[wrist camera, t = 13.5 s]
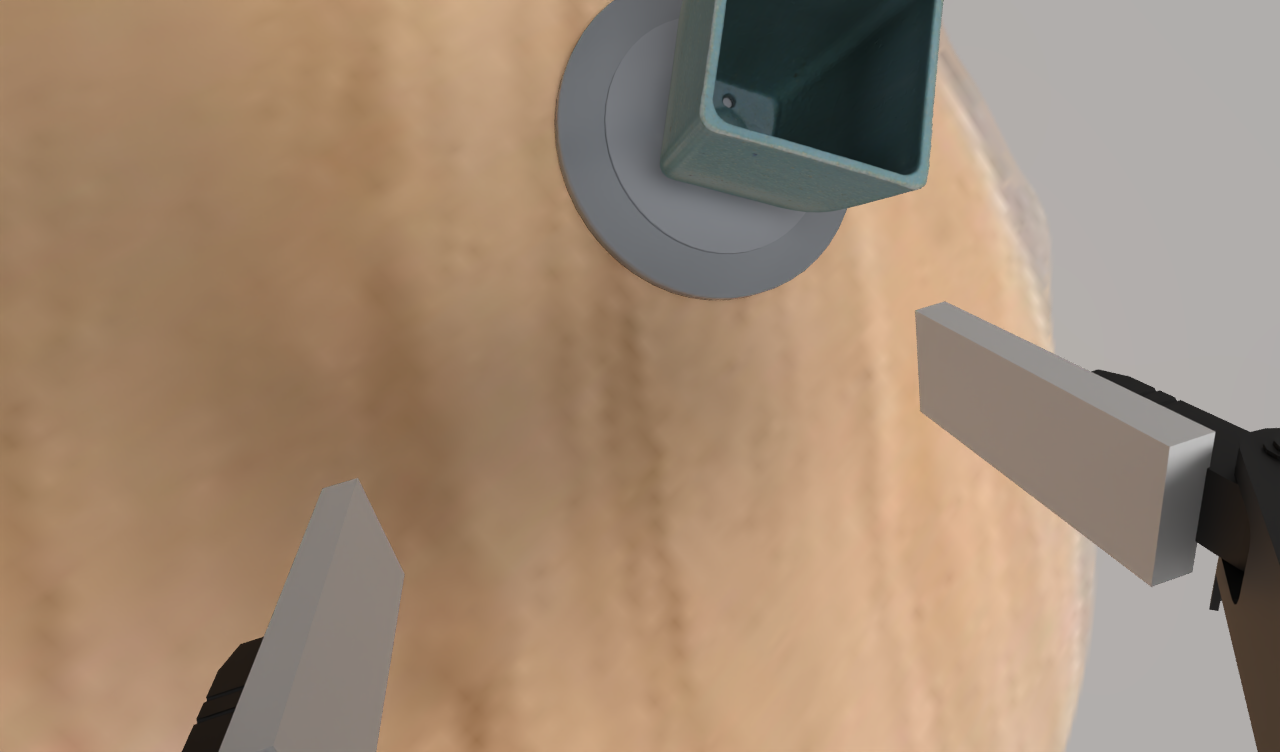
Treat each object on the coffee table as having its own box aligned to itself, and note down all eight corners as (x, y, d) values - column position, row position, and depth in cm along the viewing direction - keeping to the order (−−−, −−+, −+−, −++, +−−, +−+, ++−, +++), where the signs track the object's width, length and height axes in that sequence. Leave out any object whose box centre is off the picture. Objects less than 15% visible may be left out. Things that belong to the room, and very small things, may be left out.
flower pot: (643, 15, 31) (733, -135, 22) (813, 72, 33) (951, -42, 25) (616, 205, 30) (699, 125, 21) (792, 248, 33) (928, 192, 24)
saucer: (492, 52, 30) (496, 37, 29) (759, -51, 34) (772, -68, 33) (654, 356, 32) (664, 354, 30) (888, 220, 36) (905, 213, 35)
